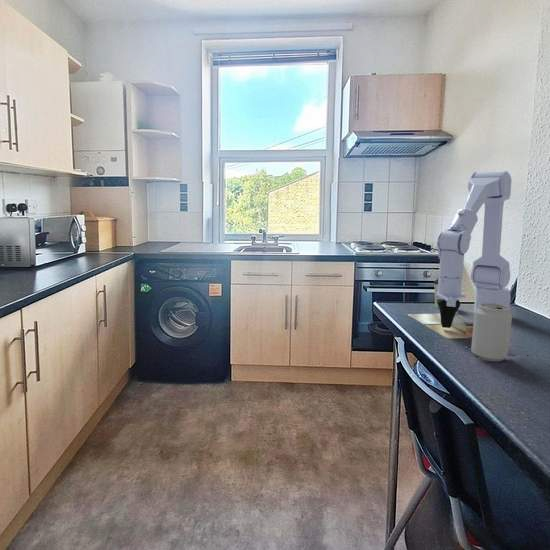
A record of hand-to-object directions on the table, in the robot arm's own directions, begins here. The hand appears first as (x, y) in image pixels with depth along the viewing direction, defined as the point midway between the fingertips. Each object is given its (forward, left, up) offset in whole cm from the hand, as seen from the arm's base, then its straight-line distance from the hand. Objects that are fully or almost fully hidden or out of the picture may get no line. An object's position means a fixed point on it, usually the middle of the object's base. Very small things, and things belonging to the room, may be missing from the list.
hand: (445, 327), depth 116 cm
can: (-1, +18, -2) cm, 18 cm away
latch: (-5, -1, -1) cm, 5 cm away
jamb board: (-5, -5, -2) cm, 7 cm away
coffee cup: (-13, -24, -2) cm, 27 cm away
